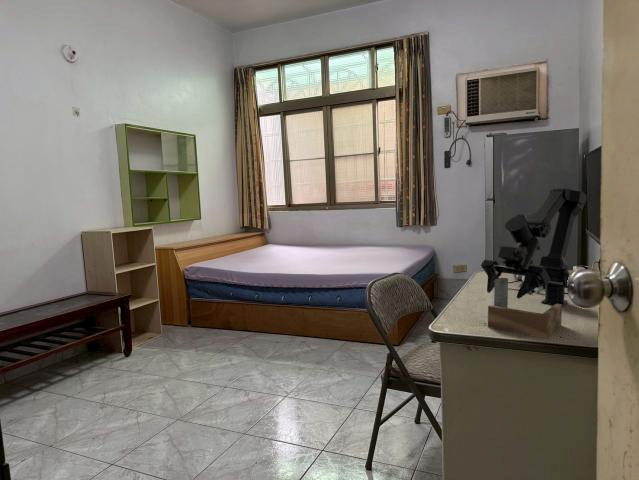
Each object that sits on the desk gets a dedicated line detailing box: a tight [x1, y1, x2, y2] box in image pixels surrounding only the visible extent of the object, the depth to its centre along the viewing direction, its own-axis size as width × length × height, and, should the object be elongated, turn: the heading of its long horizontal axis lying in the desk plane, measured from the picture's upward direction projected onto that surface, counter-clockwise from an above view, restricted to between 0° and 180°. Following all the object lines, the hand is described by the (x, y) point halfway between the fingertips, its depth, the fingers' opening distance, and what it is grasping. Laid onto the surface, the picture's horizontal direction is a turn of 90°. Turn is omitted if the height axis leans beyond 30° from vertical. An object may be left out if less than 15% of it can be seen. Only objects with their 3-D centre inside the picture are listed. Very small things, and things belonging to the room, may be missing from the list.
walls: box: [487, 304, 563, 339], centre depth 123 cm, size 14×15×6 cm
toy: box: [512, 264, 544, 294], centre depth 173 cm, size 10×8×30 cm
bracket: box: [493, 277, 509, 308], centre depth 123 cm, size 4×8×12 cm, turn 37°
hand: (502, 294), depth 126 cm, fingers open, 9 cm apart
